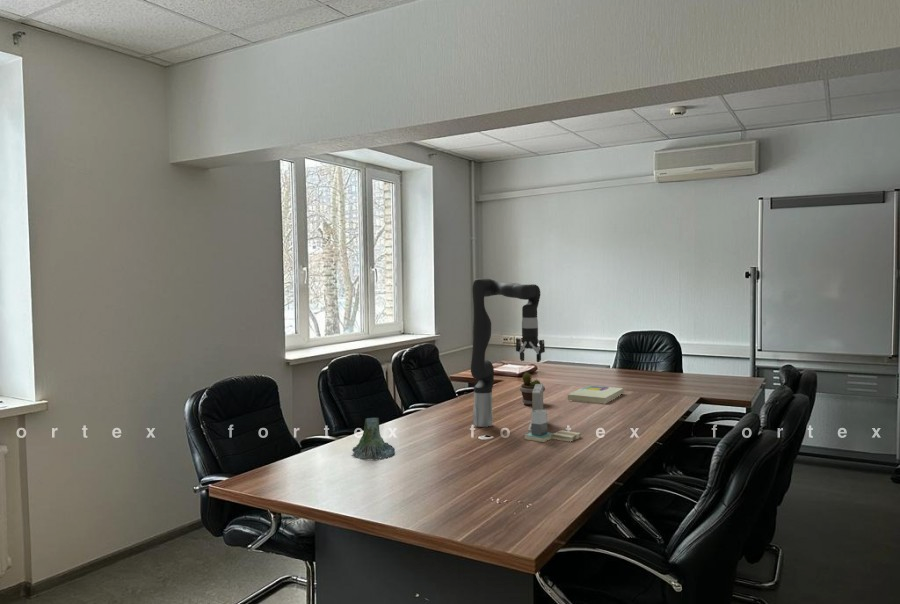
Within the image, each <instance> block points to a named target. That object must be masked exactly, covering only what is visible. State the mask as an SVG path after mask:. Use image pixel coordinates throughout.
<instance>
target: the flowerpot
mask: <svg viewBox="0 0 900 604" xmlns="http://www.w3.org/2000/svg"><path fill="white" fill-rule="evenodd" d="M521 380H522V382H523V383H522V384H521V385H520V387H519V391H520V392H521V396H522V400H521V401H522V403H523V404H524V405H525V406H528V405H531V407H532V392H533V389H534V387H535V384H542V383H541V381H540V380H538V379H537V378H535V379H534V380H532V374H530V373H529V372H527V371H526V372H525V371H524V373H523V374H522V377H521ZM545 391H546V387H545V386H544V385H543V393H544V392H545Z"/></svg>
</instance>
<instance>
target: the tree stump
mask: <svg viewBox="0 0 900 604" xmlns="http://www.w3.org/2000/svg"><path fill="white" fill-rule="evenodd" d="M395 450H396V449H395V447H393V445H391V444H389V442H385V440H384V438H383V437H382V436H381V431H380V418H379V417H368V418H365V419H364V427H363V432H362V436H361V437H360V439H359V442H358V444H356V446H354V447H353V448H352V449H351V451H352V452H353V454H354V456H355V458H357V459H359V458H360V460H364V459H380V460H384V459H383V458H386V459H389V458H391V457H393V456H394V455H395V454H396V453H395ZM393 454H394V455H393ZM392 455H393V456H392ZM390 456H391V457H390ZM380 457H381V458H380ZM388 457H389V458H388Z"/></svg>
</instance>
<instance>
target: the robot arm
mask: <svg viewBox="0 0 900 604" xmlns="http://www.w3.org/2000/svg"><path fill="white" fill-rule="evenodd" d="M471 291H472V305H473V306H472V307H473V323H472V327H473V328H472V336H473V337H472V354H471V361H470V362H471V363H470V373H471V376H472V377H473V378H474V380H477V383H476V384H475V385H474V387H473V406H472V410H473V412H472V416H473V426H474V427H479V428H487V427H488V426H489V427H493V425H492V424H493V421H494V420H493V387H494V382H495V381H494V378H495V370H494V366H493V363H492V362H491V361H490V360H488V359H486V350H487V347H488V345H489V343H490V340H491V338H492V337H491V336H492V320H491V318H490V316H489V314H488V311H487V310H486V307H485V298H486V297H493V296H503V297H506V298H513V299H519V300H527V303H526V304H523V306H522V308H521V309H522V310H521V315H522V316H521V318H522V319H521V337H522V338H516V340H515V341H516V342H515V351H516V352H518V353H519V360H520V362H524V361H525V351H526V350H527V349H530V350H533V351H535V353H536V354H535V355H536V356H535V357H536V362H537V363H540V362H541V360H542V354H543V353H546V350H545V348H546V347H545V339H539V321H538V307H539V302H540V298H541V289H540V287H539V285H537V284H521V283H516V282H514V283H513V282H501V281H497V280H494V279H491V278H475V280H474V281H473V283H472V289H471ZM489 427H488V428H489Z"/></svg>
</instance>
